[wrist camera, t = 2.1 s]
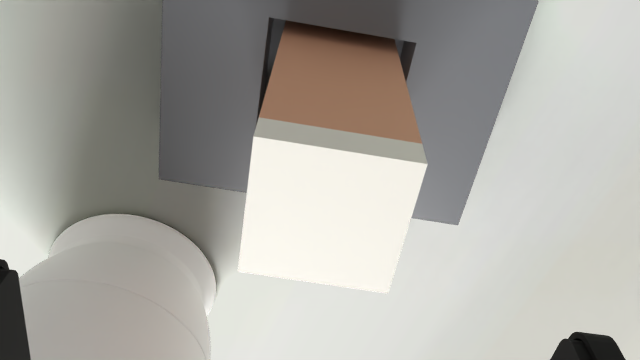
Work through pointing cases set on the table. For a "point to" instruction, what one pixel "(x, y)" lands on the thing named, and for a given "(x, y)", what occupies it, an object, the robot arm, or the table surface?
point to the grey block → (350, 15)
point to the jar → (119, 294)
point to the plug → (332, 162)
